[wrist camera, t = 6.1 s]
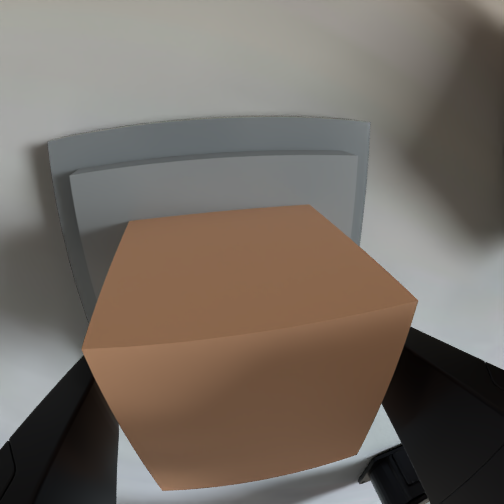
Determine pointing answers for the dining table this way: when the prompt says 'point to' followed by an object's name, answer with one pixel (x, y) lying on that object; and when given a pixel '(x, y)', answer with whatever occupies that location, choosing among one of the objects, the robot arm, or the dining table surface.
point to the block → (244, 343)
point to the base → (201, 178)
